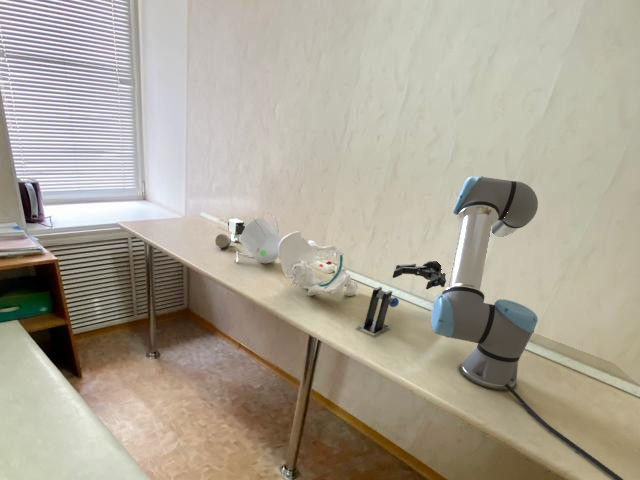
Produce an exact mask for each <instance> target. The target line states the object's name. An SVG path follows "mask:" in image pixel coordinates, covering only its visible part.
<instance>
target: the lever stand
mask: <svg viewBox="0 0 640 480" xmlns="http://www.w3.org/2000/svg"><path fill="white" fill-rule="evenodd" d="M382 289H383V287H382V286H379V287H376V288H374V289H372V294H371V297H370V301H369V306H368V308H367V313H366V316H365V320H364V323H362V324H359V325H358V326H357V327H358V328H361V329H362V330H365V331H368V332H369V333H372V334H374V335H376V334H378V333H379V332H381V331H383V330H385V329H386V328H389V325H387V324H384V323H385V320H386V317H387V313H388V309H389V307H390V305H389V302H390V299H391V298H392V295H393V291H392V290H388V291H386V292H385V293H384V295H383V299H381V302H380V299H379V298H377V297H376V296H377V294H378V291H379V290H380V291H383V290H382ZM379 302H380V306H379V310H378V313H377V317H376V319H375V316H376V312H377V309H378V305H379Z"/></svg>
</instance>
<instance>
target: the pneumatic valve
mask: <svg viewBox="0 0 640 480" xmlns="http://www.w3.org/2000/svg"><path fill="white" fill-rule="evenodd" d="M227 227H228V229H227V230H228V232H230V233H232V234H231V236H230V237H231V238H230V239H231V242H234V243H235V242H236V243H237V242H238V243H239V242H240V237H241V234H242V232H243V230H244V229H245V228H246V226H245V222H244V221H243V220H242V219H241V220H240V219H238V218H228V222H227Z"/></svg>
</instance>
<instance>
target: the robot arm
mask: <svg viewBox="0 0 640 480" xmlns="http://www.w3.org/2000/svg"><path fill="white" fill-rule="evenodd" d="M538 208H539V200H538V196H537V194H536V192H535V191H534V190H533V188H532V187H531V186H530V185H528V184H526V183H524V182H523V181H517V180H509V179H508V180H507V179H502V178H494V177H486V176H483V175H481V176H478V175H477V176H475V175H471V176H469V177H467V178H465V181H464V183H463V185H462V187H461V189H460V191H459V193H458V196H457V199H456V201H455V204H454V206H453V209H452V213H453V214H454V215H455V216H456V221H457V222H458V224H459V225H460V226H459V227H460V233H459V238H458V243H457V248H456V253H455V258H454V263H453V268H452V271H451V272H450V273H451V274H450V277H449V284H448V287H447V288H445V285H446V283H447V279H446V276H447V273H446V274H445V273H443V274H442V273H441V270H442V269H441V265H440V264H439V263H438V262H437V261H431V260H429V261H427V262H424V264H422V266H420V265H417V264H416V263H411V264H396V266H395V269H394V270H393V273H392V278H393V279H395V278H398V277H400V276H402V275H414V276H417V277H423V278H424V279H425V280H427V284H426V286H425V289H426V290H430V289H431V288H433V287H434V288H435V287H439V286H440V287H441V288H445V289H443V290H442V292H441V294H438V295H436V297H435V299H434V302H433V305H432V309H431V319H430V320H431V321H430V323H431V329H432V331H433V332H434V334H436V335H439V336H443V337H445V338H446V339H447V338H448V339H449V338H450V339H455V340H460V341H465V342H470V343H475V344H476V345H477V346H476V347H475V348H474V349H473V350H472V352H470V354H468V356H467V357H466V358H465V359H464V360H463V361H462V363H461V366H460V372H461V373H462V375H463V376H464V377H465V378H466V379H467V380H469V381H470V382H473V383H474V384H476V385H479V386H481V387H484V388H487V389H492V390H496V391H509V392H510V393H511V394H512V395H513V396H514V397H515V398H516V399H517V401H518V402H519V403H520V404H521V405H522V406H523V407H524V408H525V409H526V410H527V412H529V414H530V415H532V416H533V417H534V418H535V419H536V420H537V421H538V422H539V423H540V424H541V425H542V426H544V427H545V428H546V429H547V430H548V431H550V432H551V433H552V434H554V435H555V436H557V437H558V438H559V439H560V440H562V441H564V442H565V443H566V444H567V445H569V446H570V447H572V448H573V449H574V450H576V451H577V452H579V453H580V454H581V455H582V456H584V457H585V458H586V459H588V460H589V461H591V462H592V463H593V464H595V465H596V466H597V467H598V468H600V469H602V471H604V472H605V473H606V474H608V475H609V476H611V477H612V478H613V479H614V480H624V478H622V477H621V476H619V475H618V474H617V473H615V472H614V471H613V470H612V469H610V468H609V467H607V466H606V465H605V464H603V463H602V462H601V461H599V460H598V459H597V458H595V457H593V456H592V454H590V453H588V452H587V451H585V450H584V449H582V448H581V447H580V446H578V445H577V444H575V443H574V442H573V441H571V440H570V439H568V438H567V437H566V436H565V435H563V434H562V433H560V432H559V431H557V430H556V429H555V428H554V427H552V426H551V425H549V423H547V422H546V421H545V420H544V419H542V418H541V417H540V415H538V414H537V413H536V412H535V411H534V410H533V409H532V408H531V407H530V406H529V405H528V404H527V403H526V401H524V399H523V398H522V397H521V396H520V395H519V394H518V393H517V391H515V390H514V389H513V387H514V386H515V384H516V382H517V379H518V368H519V367H518V365H519V361H520V359H521V357H522V355H523V353H524V351H525V349H526V347H527V345H528V343H529V341H530V339H531V337H532V335H533V334H534V333H535V329H536V326H537V324H538V321H539V319H538V316H537V314H536V312H534V311H533V310H532V309H530V308H529V307H527V306H525V305H523V304H521V303H519V302H516V301H513V300H510V299H506V298H505V299H501V298H500V299H497V300H496V301H495V302H494V304H492V303H487V302H485V293H484V292H483V291H482V290H481V287H482V281H483V277H484V271H485V270H484V269H485V265H486V259H487V258H486V253H487V248H488V242H489V237H490V231H491V226H492V233H493V234H494V235H495V236H497V237H504V236H507V235H509V234H511V233H512V234H514V233H515V232H516V231H517V230H518V229H521V228H524V227H525V226H527V225H528V224H529V223H530V222H531V221H532V220H533V219H534V218H535V216H536V214H537V212H538ZM507 212H508V213H507ZM504 217H505V218H504ZM512 234H511V235H512Z"/></svg>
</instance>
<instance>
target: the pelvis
mask: <svg viewBox="0 0 640 480" xmlns="http://www.w3.org/2000/svg"><path fill="white" fill-rule="evenodd" d="M301 233H302V232H301V230H297V231H293V232H290V233H288V234H287V235H285V236H283V237H282V238H283V239H282V240H281V241H280V243H279V249H278V253H279V257H278V259H279V260H280V265H281V270H282V272H283V274H284V275H285V277H287V278H290V279H291V278H292V280H291V282H290V284H289V285H290V286H292V285H293V286H294V285H296V286H298V285H299V287H301V288H303V289H306V290H307V296H309V297H313V296H314V295H317V294H319V293H323V294H329V295H330V294H331V293H336V294H338V293H340V292H342V291H343V289H344V288H345V291H343V294H344V295H345V296H347V297H353V296H355V295H356V293H357V290H358V288H359V287H358V282H357V281H356V280H352V277H351V274H349V273H347V268H346V267H344V252H343V251H342V250H340V249H338V247H336V246H335V245H333V244H329V245H328V246H321V245H318V244H317V242H316V240H309V239H308V238H304V237H303V236H302V234H301ZM318 252H325V253H327V254H326V255H323V256H317V254H318ZM332 257H335V258H336V271H335V273H334V274H333V275H332V277H331V278H330V279H329V280H328V281H324V280H322V279H320V278H318V277H317V276H316V275H315V273H314V270H313V268H312V267H311V266H310V264H313V263H316V262H318V261H322V260H324V259H326V258H332ZM302 262H304V263H302Z"/></svg>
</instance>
